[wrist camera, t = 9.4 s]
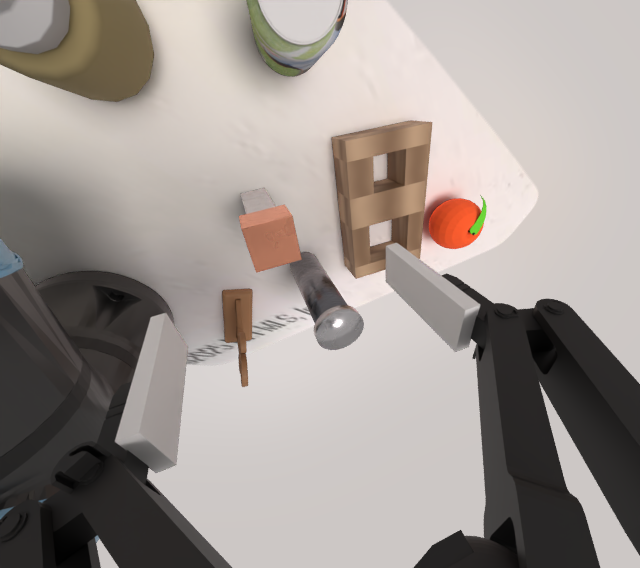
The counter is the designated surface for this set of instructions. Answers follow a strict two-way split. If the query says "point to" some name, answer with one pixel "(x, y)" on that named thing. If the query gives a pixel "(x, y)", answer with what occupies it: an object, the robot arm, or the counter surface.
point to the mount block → (381, 191)
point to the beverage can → (295, 31)
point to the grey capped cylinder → (326, 305)
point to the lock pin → (268, 231)
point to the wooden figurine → (238, 323)
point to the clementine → (456, 223)
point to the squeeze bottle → (78, 45)
